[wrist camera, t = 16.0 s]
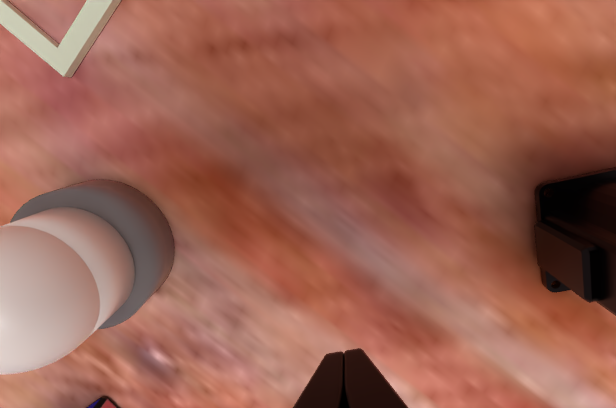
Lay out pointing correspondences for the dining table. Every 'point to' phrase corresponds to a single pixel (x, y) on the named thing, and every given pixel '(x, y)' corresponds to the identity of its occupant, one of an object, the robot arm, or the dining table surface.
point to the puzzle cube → (102, 404)
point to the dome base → (120, 232)
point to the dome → (58, 284)
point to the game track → (75, 41)
